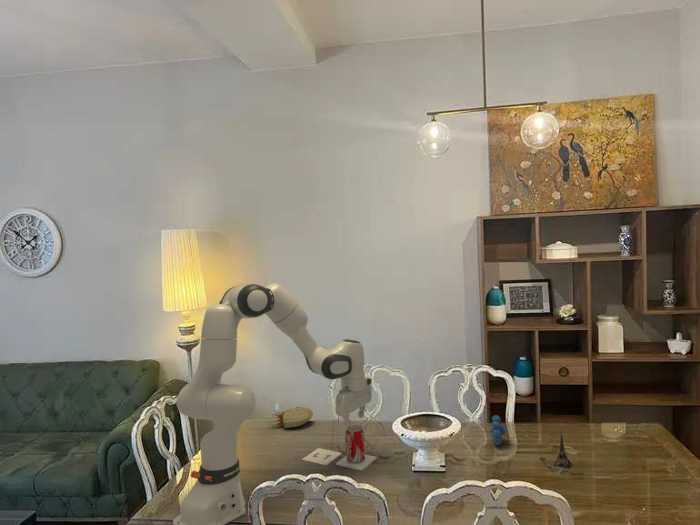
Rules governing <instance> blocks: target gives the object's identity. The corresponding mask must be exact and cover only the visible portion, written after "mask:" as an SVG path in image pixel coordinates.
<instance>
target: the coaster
mask: <svg viewBox="0 0 700 525" xmlns="http://www.w3.org/2000/svg"><path fill="white" fill-rule="evenodd" d="M377 458H378V456H373V455H369V454H365V459H364V460H362V461H361V462H359V463H352V462H350V461H348V460H347V457H346V455H345V456H344V457H343V458H341V459H340V460H338V461H337V462H336V463H335V465H336V466H340V467H343V468H349V469H353V470H357V471H364V470H365V469H366V468H368V466H370V465H371V464H372V463H374V461H376V460H377Z"/></svg>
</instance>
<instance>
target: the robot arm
mask: <svg viewBox="0 0 700 525" xmlns="http://www.w3.org/2000/svg"><path fill="white" fill-rule="evenodd" d="M263 315H265V316H267V317H268V318H269V320H271V322H272V323H273V324H274V325H275V327H277V328H278V329H279V330H280V331H281V332H282V333H283V334H285V336H287V337H289V339H291V340H292V341H293V343H294V344H295V345H296V347H298V349H299V350H300V351H301V352H302V354H303V356H304V359H305V362H306V364H307V367H308V369H309V370H310V371H311V372H312V373H314V374H317V375H319V376H321V377H323V378H325V379H328V380H337V379H340V382H341V383H340V384H341V387H340V388H341V389H339V391H338V393H337V395H336V397H335V409H334V410H335V415H336V416H338V417H342V418H343V420H344V426H347V427H349V426H351V425H352V420H351V419H350V418H349V417H350V414H351V413H353V412H355V411H357V410H359V411H358V412H357V415H358V418H360V419H361V418H363V417H365V411H366V405H367V404H369V403H371V401H372V396H373V394H372V393H373V390H372V389H373V388H372V382H373V380H372V378H371V377H366V374H365V352H364V346H363V344H362V343H361V342H360V341H358V340H354V339H349V338H348V339H346V338H345V339H343V340H341V341H340V343H338V345H336V346H335V347H334V348H331V349H328V348H327V347H325V346H322V345H320V344H319V343H317V341H316V340H315V338H314V337H313V336H312V335H311V334H310V332H309V330H308V329H307V324H308V321H309V320H308V319H309V318H308V317H309V316H308V313H307V312H306V311H305V309H304V307H303V306H302V304H301V303H300V302H299V301H298V300H297V299H296V298H295V297H294V295H293V294H292V293H291V292H290V291H288V289H287V288H285V287H284V286H282V285H281V284H280V283H276V282H275V283H274V282H273V283H270V284H267V285H266V286H262V285H259V284H256V283H252V284H251V283H249V284H248V283H247V284H246V283H245V284H244V283H243V284H238V285H235V286H232V287H230V288H229V289H227V290H226V291H225V293H224V294H223V296H222V298H221V299H220V301H219V303H216V304H213V305H210V306H209V307H207V308H206V311H205V313H204V316H203V321H202V327H201V336H200V346H199V347H200V350H199V359H198V365H197V367H196V368H197V369H196V371H195V373H194V375H193V376H192V378H191V380H190V381H189V382H188V383H187V384H185V385H184V386H183V387H182V388H181V390H179V393H178V396H177V400H176V403H177V405H176V406H177V408H178V409H177V410H178V411H179V413H180V415H183V416H185V417H188V418H191V419H194V420H207V421H212V422H213V429H212V430H210V431H208V432H206V433H205V434H204V435H203V436H202V438H201V440H200V443H199V445H200V446H199V448H200V463H201V464H200V466H199V470H198V471H196V470H191V472H190V478H192V479H196V482H195V483H194V485H193V486H192V487H191V488H190V490H189V492H188V493H187V494H186V496H185V497H184V498H183V499H182V502H181V507H180V513H179V514H178V515H177V516H176V517H175V518H174V519H173V520H172V525H226V524H228V523H230V522H232V521H234V520H236V519H238V518H240V517H242V516H244V515H245V514H246V513H247V508H246V503H247V502H246V499H245V498H244V497H245V496H244V493H243V489H242V485H241V479H240V472H241V470H240V469H241V465H240V460H239V458H238V436H239V432H240V429H241V427H242V425H244V423H245V422H246V421H247V420H249V419H250V418H251V416H252V415H253V413H254V411H255V409H256V397H255V394H254V392H253V391H252V389H251V388H248V387H244V386H242V385H237V384H226V383H225V384H224V383H223V384H222V383H221V379H222V377H223V375H224V373H225V372H227V371H229V370H231V369H233V367H234V366H235V364H236V362H237V347H238V328H239V327H238V326H239V324H240V321H241V320H242V319H251V318H253V319H254V318H259V317H261V316H263Z"/></svg>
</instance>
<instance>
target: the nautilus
mask: <svg viewBox="0 0 700 525" xmlns="http://www.w3.org/2000/svg"><path fill="white" fill-rule="evenodd" d="M274 415H275V416H274ZM269 416H271V417H269V418H267V420H269V419H271V420H272V417H274V419H276V420H275V421H273V423H275V424H270V423H272V421H270V422H269V421H268V422H267V424H269V427H271V426H272V428H276V430H277V429H281V428H285V429H287V428H296V427H300V426H302V425H304V424H306V423H307V422H308V421H310V420H311V419H312V417H313V416H314V412H313V411H312V409H311V408H309V407H305V406H304V407H303V406H296V407H293V408H289V409H287V410H285V411H281V412H277V413H276V412H275V413H273V414H271V415H269Z"/></svg>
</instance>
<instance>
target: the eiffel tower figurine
mask: <svg viewBox="0 0 700 525" xmlns="http://www.w3.org/2000/svg"><path fill="white" fill-rule="evenodd" d="M560 430H561V432H560V446H559V451H558V452H559V453H558V456H557V457H556V460H555V462H554V463H553V464H549V463H547V462H545V461H546V459H547V458H545V457H543V456H539V457H538V459H540V460H541V461H542V463H543V464H544V465H545V466H546V467H547V468H548V469H549V470H550V471H551V473H554V474H558V475H561V476H564V475H565V476H566V475H569V476H570V475H571V476H577V475H585V473H584V472H575V471H573V472H572V471H569V470H570V469H571V468H572V467H573V465H574V464H573V463H572V462H571V461H570V460H569V458H568V455H566V451H565V446H564V440H563V438H564V437H563V434H564V433H563V432H562V429H560Z"/></svg>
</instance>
